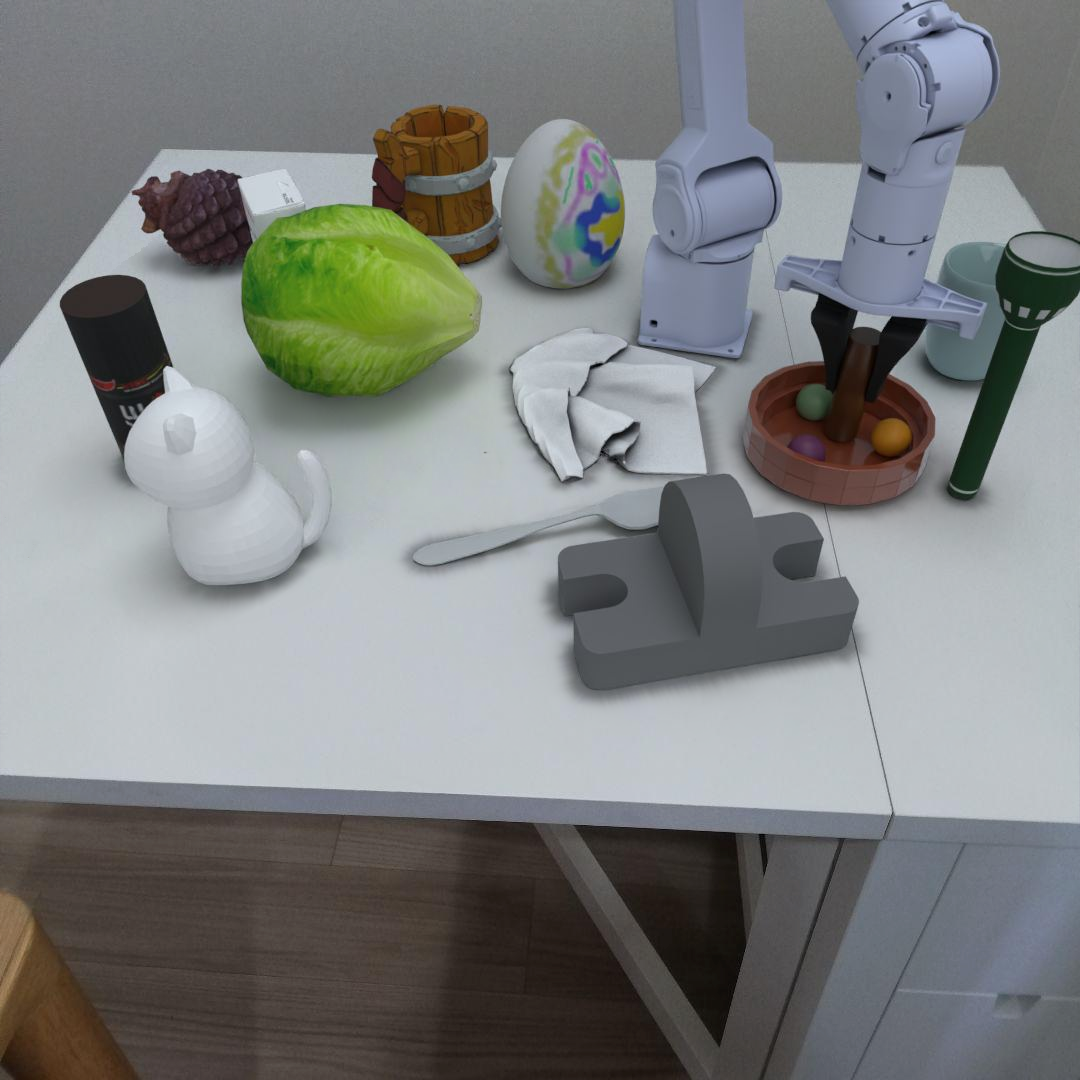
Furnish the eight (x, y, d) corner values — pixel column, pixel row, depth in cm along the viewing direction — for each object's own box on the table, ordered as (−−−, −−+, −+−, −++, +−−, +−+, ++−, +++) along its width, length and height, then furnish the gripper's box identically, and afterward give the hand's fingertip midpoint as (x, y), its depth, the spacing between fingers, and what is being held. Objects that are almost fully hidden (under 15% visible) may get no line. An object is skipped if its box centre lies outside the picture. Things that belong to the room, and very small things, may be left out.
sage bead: (791, 424, 80) (796, 394, 78) (795, 403, 82) (801, 374, 80) (828, 430, 79) (835, 400, 77) (831, 409, 81) (838, 379, 79)
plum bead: (780, 477, 75) (786, 447, 73) (785, 454, 77) (791, 423, 75) (820, 484, 75) (827, 454, 73) (824, 460, 77) (830, 430, 75)
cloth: (571, 317, 94) (570, 295, 92) (780, 391, 84) (785, 368, 83) (434, 426, 82) (431, 403, 80) (660, 526, 73) (662, 502, 71)
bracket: (853, 646, 64) (890, 526, 56) (585, 692, 62) (586, 574, 54) (799, 546, 71) (825, 427, 63) (555, 584, 69) (552, 466, 61)
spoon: (692, 526, 73) (694, 510, 71) (417, 579, 69) (415, 563, 68) (673, 491, 75) (675, 474, 74) (409, 540, 72) (406, 524, 71)
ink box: (262, 288, 99) (234, 175, 91) (310, 278, 101) (286, 165, 92) (279, 329, 94) (251, 212, 85) (330, 318, 95) (307, 201, 87)
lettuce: (469, 450, 83) (471, 306, 72) (232, 430, 83) (196, 282, 71) (485, 326, 94) (490, 182, 82) (275, 307, 93) (250, 160, 82)
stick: (817, 431, 79) (842, 335, 72) (836, 417, 80) (862, 322, 73) (845, 446, 77) (872, 350, 71) (863, 432, 78) (892, 336, 72)
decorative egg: (571, 313, 94) (570, 160, 84) (479, 274, 100) (468, 126, 90) (646, 264, 101) (654, 116, 90) (555, 230, 107) (553, 87, 96)
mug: (521, 233, 106) (515, 90, 96) (430, 301, 97) (412, 150, 86) (442, 211, 111) (427, 72, 100) (347, 274, 101) (320, 127, 91)
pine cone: (304, 217, 110) (314, 160, 101) (305, 294, 108) (316, 242, 99) (135, 196, 105) (130, 133, 96) (132, 278, 102) (126, 220, 93)
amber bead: (863, 457, 76) (874, 424, 74) (868, 439, 79) (879, 407, 77) (902, 468, 76) (915, 434, 74) (906, 449, 78) (918, 417, 76)
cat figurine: (170, 532, 74) (103, 364, 63) (336, 499, 76) (297, 332, 65) (170, 618, 67) (95, 448, 57) (351, 580, 69) (311, 409, 59)
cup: (1013, 397, 83) (1053, 291, 76) (917, 388, 84) (948, 283, 77) (1001, 346, 88) (1037, 244, 81) (911, 339, 90) (940, 237, 83)
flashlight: (1007, 488, 75) (1105, 245, 61) (980, 523, 72) (1077, 278, 58) (943, 461, 77) (1023, 222, 63) (915, 495, 74) (992, 253, 60)
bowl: (730, 492, 75) (736, 452, 72) (756, 389, 85) (762, 350, 82) (920, 525, 72) (933, 484, 69) (924, 414, 81) (937, 374, 79)
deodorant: (135, 491, 77) (66, 326, 67) (121, 450, 81) (53, 287, 70) (209, 467, 79) (153, 303, 69) (192, 428, 83) (137, 267, 72)
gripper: (1017, 224, 66) (962, 390, 76) (811, 181, 72) (783, 340, 81) (993, 270, 62) (937, 439, 71) (775, 220, 67) (750, 383, 77)
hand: (853, 390), depth 76 cm, fingers closed on stick, 2 cm apart
